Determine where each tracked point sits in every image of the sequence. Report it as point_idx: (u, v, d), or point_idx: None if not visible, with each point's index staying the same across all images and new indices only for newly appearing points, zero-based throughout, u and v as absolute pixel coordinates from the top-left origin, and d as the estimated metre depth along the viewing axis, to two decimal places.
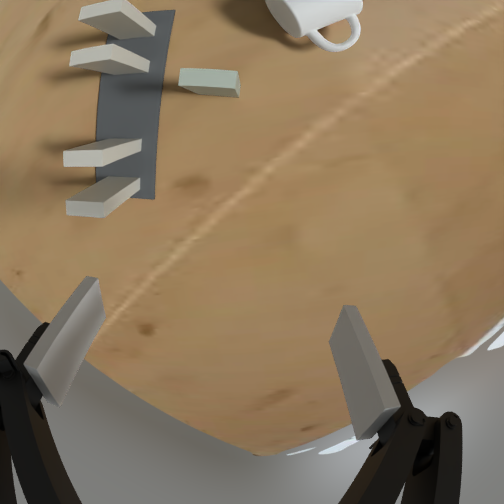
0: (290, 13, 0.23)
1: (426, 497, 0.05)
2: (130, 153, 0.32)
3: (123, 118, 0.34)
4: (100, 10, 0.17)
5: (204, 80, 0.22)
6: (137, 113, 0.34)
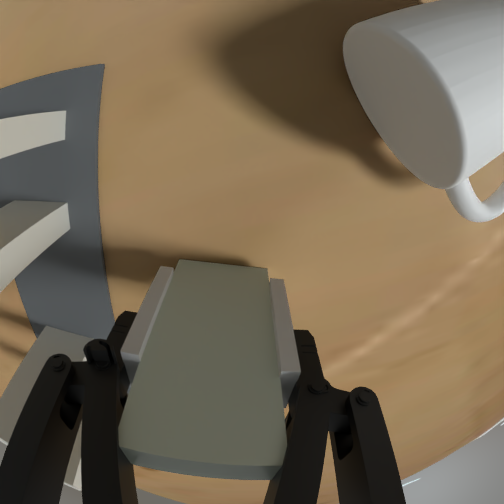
0: (449, 143, 0.07)
1: (359, 483, 0.06)
2: None
3: (55, 303, 0.18)
4: None
5: (193, 471, 0.07)
6: (74, 301, 0.18)
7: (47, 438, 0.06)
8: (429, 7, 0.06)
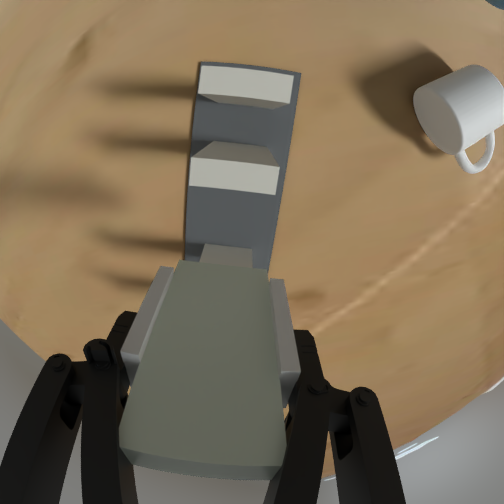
0: (457, 136, 0.20)
1: (359, 483, 0.06)
2: None
3: (227, 221, 0.31)
4: (247, 86, 0.14)
5: (192, 471, 0.07)
6: (247, 217, 0.31)
7: (47, 438, 0.06)
8: (452, 81, 0.18)
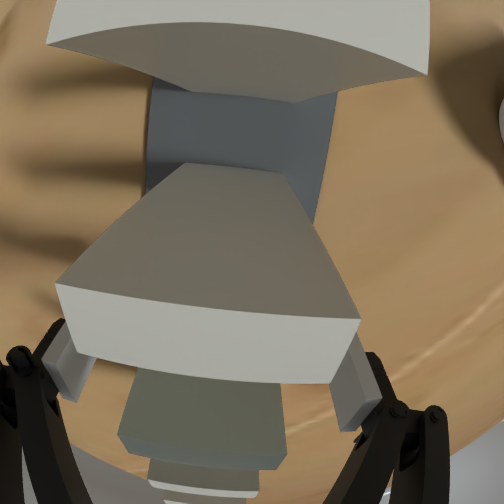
0: None
1: (414, 493, 0.05)
2: None
3: None
4: None
5: (193, 460, 0.07)
6: None
7: None
8: None
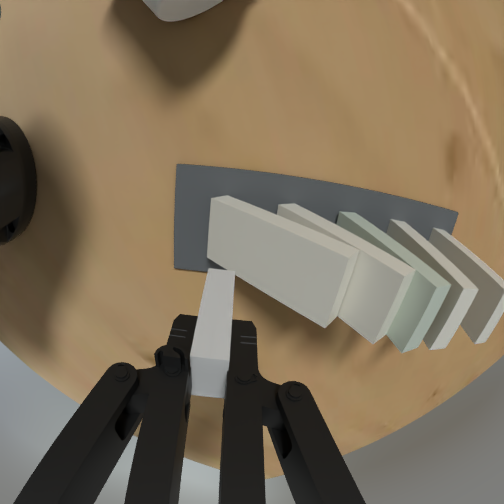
0: None
1: (307, 483, 0.06)
2: (423, 238, 0.21)
3: None
4: (344, 288, 0.18)
5: (428, 322, 0.15)
6: None
7: (96, 449, 0.06)
8: None
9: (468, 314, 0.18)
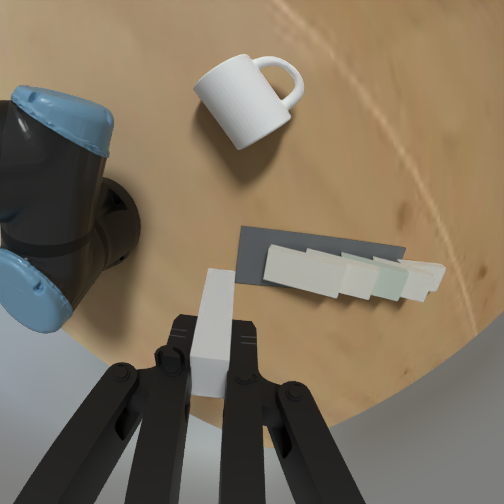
0: None
1: (307, 483, 0.06)
2: (394, 262, 0.44)
3: None
4: None
5: None
6: None
7: (96, 449, 0.06)
8: (224, 127, 0.31)
9: None
